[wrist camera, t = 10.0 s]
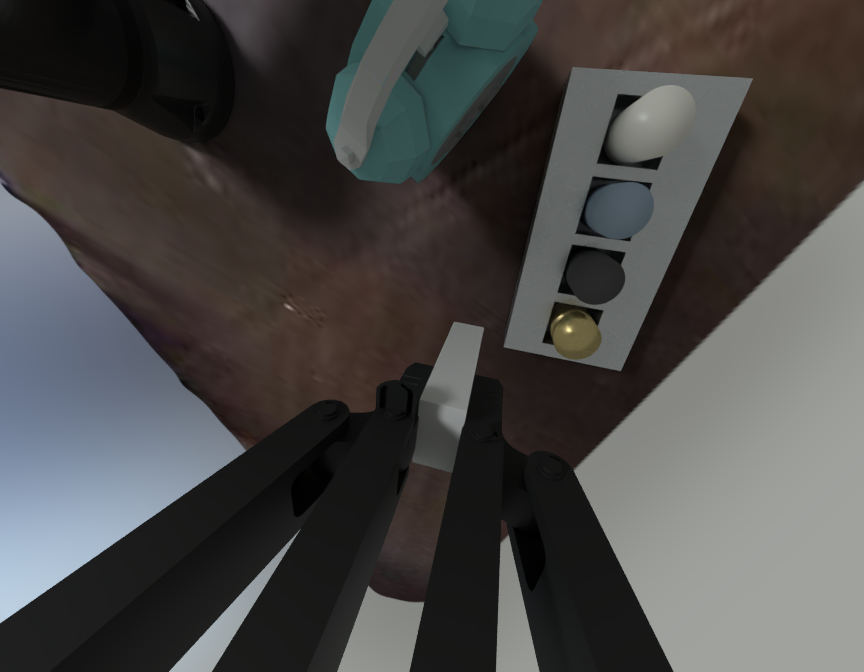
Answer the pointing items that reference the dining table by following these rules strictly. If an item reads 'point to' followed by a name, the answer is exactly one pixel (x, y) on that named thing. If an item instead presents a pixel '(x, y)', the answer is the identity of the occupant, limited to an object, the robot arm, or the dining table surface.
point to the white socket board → (590, 167)
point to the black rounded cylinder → (593, 276)
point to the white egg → (651, 126)
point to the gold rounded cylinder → (573, 331)
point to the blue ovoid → (618, 209)
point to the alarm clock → (422, 81)
